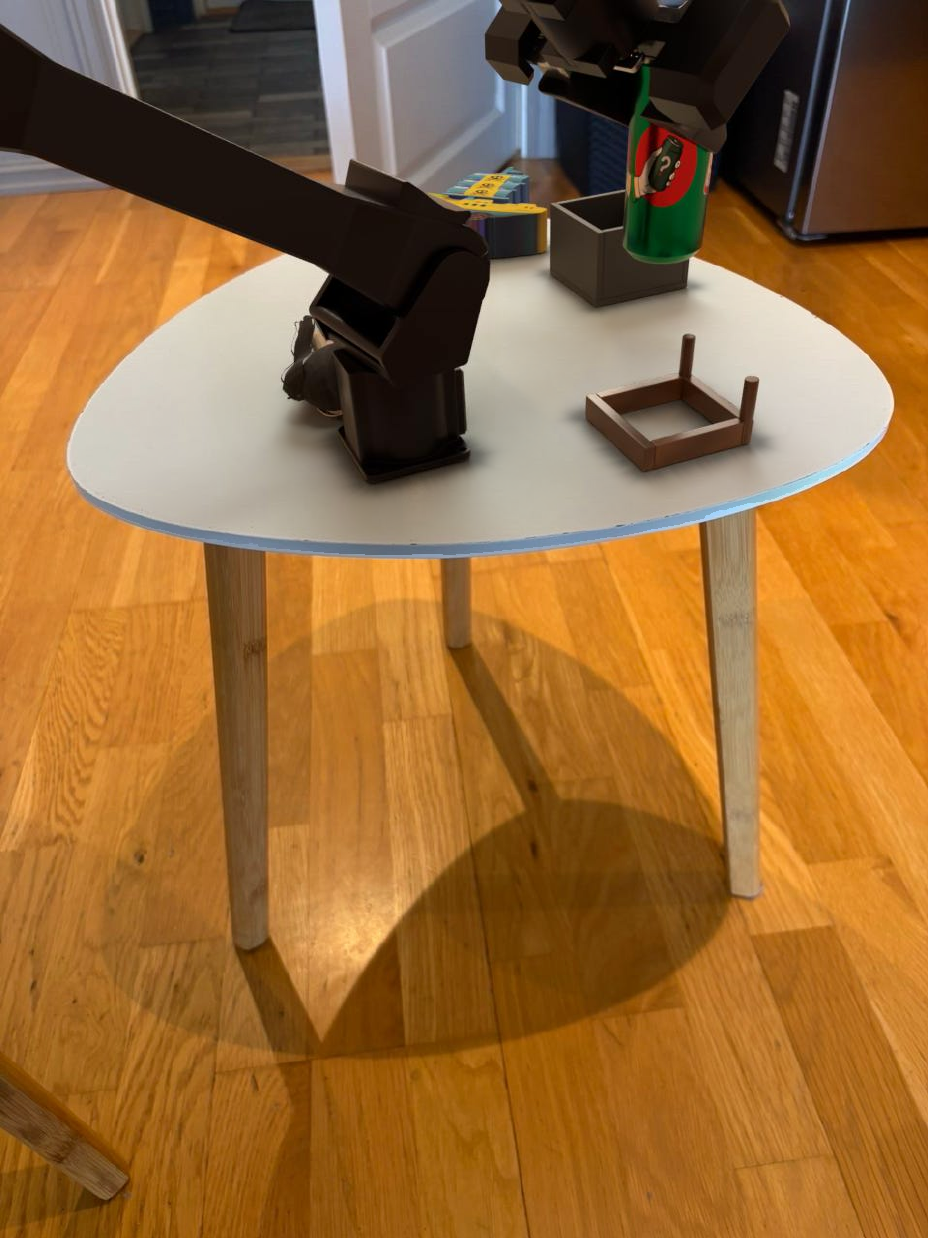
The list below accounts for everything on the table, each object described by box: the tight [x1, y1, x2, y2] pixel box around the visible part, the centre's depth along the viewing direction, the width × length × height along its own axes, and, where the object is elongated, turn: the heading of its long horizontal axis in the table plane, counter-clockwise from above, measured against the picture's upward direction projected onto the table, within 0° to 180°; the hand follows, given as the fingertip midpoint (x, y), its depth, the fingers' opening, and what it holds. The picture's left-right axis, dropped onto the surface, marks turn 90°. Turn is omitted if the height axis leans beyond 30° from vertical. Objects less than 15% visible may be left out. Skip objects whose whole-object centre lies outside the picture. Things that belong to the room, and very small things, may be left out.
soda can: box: [622, 58, 714, 264], centre depth 57 cm, size 5×5×12 cm
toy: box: [425, 166, 548, 259], centre depth 85 cm, size 16×3×15 cm
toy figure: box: [280, 314, 343, 418], centre depth 63 cm, size 7×6×15 cm
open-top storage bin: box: [549, 189, 691, 308], centre depth 74 cm, size 8×8×6 cm
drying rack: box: [584, 333, 760, 472], centre depth 56 cm, size 7×7×4 cm
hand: (687, 137), depth 57 cm, fingers closed on soda can, 5 cm apart
